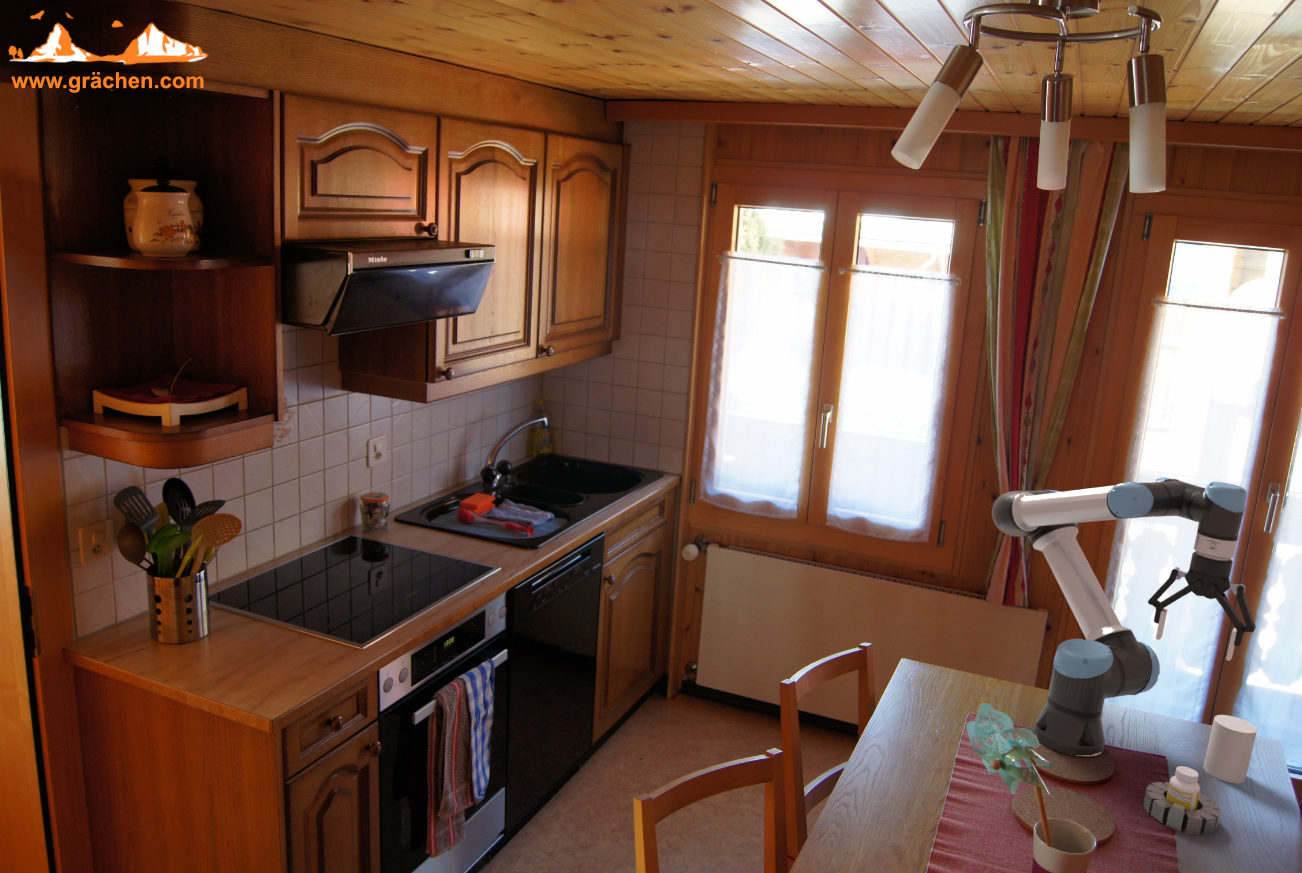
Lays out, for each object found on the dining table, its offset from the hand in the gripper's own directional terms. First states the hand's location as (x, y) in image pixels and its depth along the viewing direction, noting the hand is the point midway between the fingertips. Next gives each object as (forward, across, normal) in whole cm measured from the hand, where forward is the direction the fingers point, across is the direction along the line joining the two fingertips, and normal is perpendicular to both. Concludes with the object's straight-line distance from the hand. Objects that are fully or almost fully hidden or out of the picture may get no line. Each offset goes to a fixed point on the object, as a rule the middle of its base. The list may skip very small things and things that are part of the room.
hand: (1193, 648), depth 203 cm
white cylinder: (+29, +10, +8) cm, 32 cm away
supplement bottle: (+29, +6, -20) cm, 35 cm away
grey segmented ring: (+29, +6, -20) cm, 35 cm away
